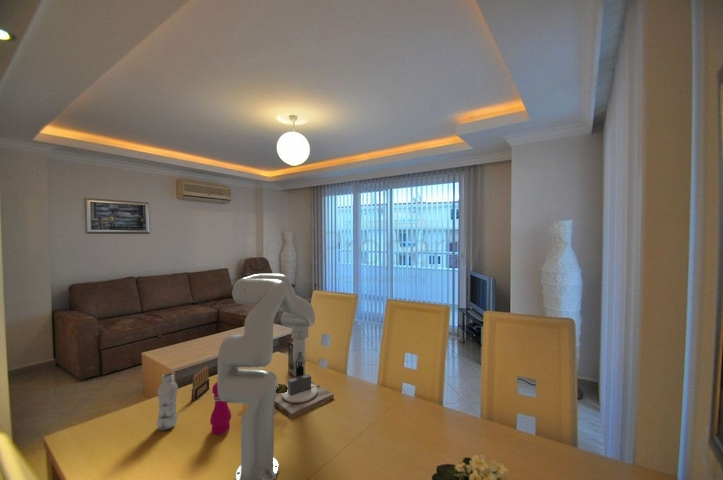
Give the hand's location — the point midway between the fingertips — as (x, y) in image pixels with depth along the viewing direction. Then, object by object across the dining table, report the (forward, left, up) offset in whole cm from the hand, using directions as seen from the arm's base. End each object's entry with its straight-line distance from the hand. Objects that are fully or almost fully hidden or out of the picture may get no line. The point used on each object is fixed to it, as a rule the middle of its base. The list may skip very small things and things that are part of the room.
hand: (299, 371), depth 135 cm
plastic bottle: (+18, +48, -13) cm, 52 cm away
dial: (0, 0, -11) cm, 11 cm away
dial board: (0, 0, -13) cm, 13 cm away
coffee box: (+24, -14, -13) cm, 31 cm away
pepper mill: (+2, +34, -13) cm, 36 cm away
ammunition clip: (+35, +31, -13) cm, 48 cm away
